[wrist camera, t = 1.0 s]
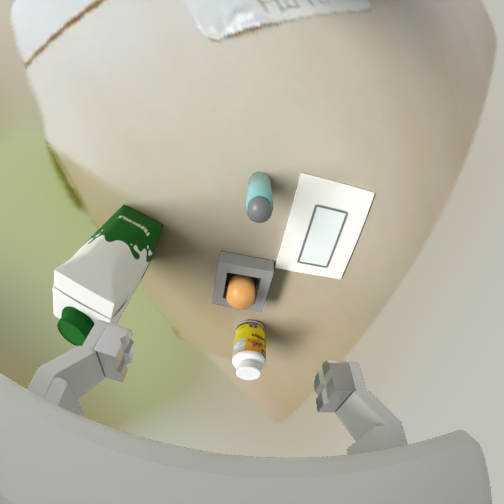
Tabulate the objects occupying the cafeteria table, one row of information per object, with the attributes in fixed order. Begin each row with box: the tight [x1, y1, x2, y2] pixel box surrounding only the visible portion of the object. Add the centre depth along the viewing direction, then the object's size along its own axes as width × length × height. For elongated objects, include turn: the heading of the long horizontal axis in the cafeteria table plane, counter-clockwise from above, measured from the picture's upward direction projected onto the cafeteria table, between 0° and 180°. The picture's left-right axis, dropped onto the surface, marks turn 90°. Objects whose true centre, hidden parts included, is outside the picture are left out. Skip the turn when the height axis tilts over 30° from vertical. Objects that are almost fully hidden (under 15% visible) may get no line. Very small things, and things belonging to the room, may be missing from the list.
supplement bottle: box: [232, 320, 266, 380], centre depth 45 cm, size 6×6×10 cm
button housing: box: [212, 251, 274, 312], centre depth 42 cm, size 8×8×3 cm
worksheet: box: [275, 173, 375, 279], centre depth 39 cm, size 15×11×1 cm
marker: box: [246, 172, 273, 223], centre depth 31 cm, size 3×3×10 cm
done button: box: [226, 274, 255, 309], centre depth 41 cm, size 4×4×3 cm
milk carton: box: [53, 205, 163, 346], centre depth 31 cm, size 9×9×20 cm
